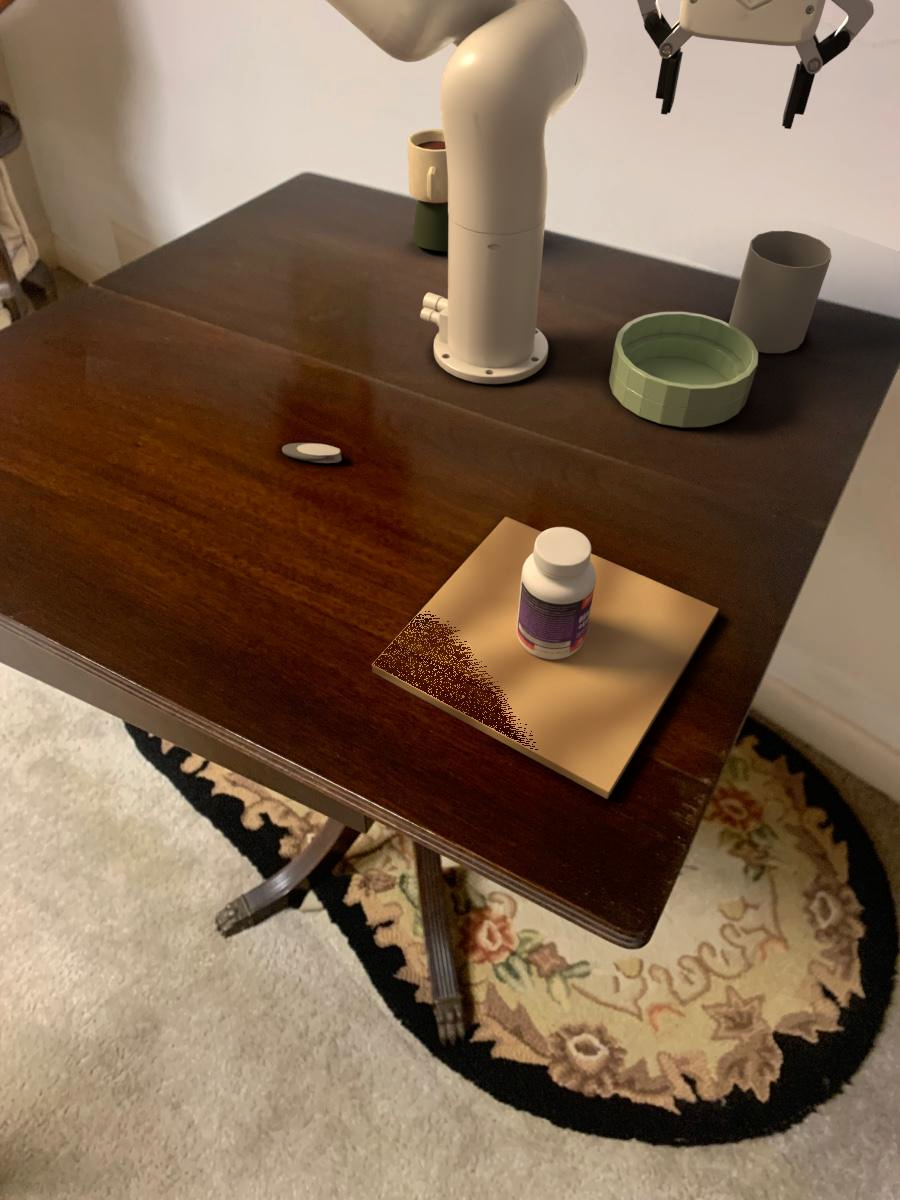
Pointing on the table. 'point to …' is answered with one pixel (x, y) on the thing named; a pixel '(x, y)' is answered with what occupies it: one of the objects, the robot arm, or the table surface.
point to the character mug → (429, 188)
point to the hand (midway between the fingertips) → (726, 115)
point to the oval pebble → (312, 452)
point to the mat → (566, 658)
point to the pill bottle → (556, 594)
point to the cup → (779, 289)
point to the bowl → (682, 369)
